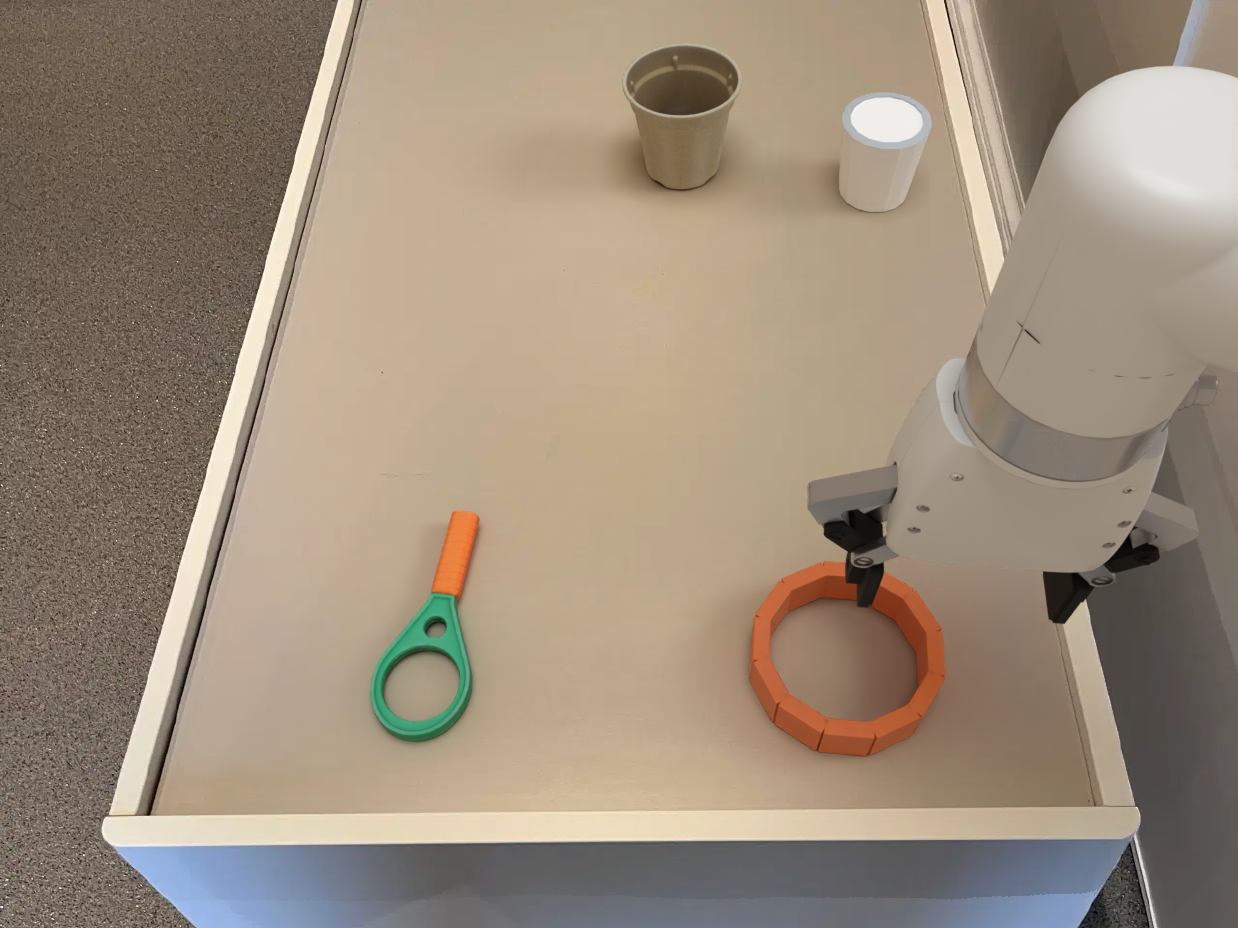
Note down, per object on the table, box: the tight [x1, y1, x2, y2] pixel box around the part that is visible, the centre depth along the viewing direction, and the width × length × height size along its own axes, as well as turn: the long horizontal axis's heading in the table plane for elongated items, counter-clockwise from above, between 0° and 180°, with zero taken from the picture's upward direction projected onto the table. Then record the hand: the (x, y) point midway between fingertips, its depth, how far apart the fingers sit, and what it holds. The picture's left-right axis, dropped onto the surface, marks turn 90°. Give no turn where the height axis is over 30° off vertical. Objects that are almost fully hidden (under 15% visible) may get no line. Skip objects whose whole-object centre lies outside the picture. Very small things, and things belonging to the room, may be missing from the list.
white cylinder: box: [838, 91, 933, 213], centre depth 84 cm, size 7×7×7 cm
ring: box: [749, 560, 947, 757], centre depth 63 cm, size 11×11×3 cm
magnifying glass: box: [369, 510, 481, 742], centre depth 66 cm, size 15×6×2 cm, turn 171°
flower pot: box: [621, 42, 743, 190], centre depth 86 cm, size 9×9×9 cm
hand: (956, 589), depth 55 cm, fingers open, 9 cm apart
